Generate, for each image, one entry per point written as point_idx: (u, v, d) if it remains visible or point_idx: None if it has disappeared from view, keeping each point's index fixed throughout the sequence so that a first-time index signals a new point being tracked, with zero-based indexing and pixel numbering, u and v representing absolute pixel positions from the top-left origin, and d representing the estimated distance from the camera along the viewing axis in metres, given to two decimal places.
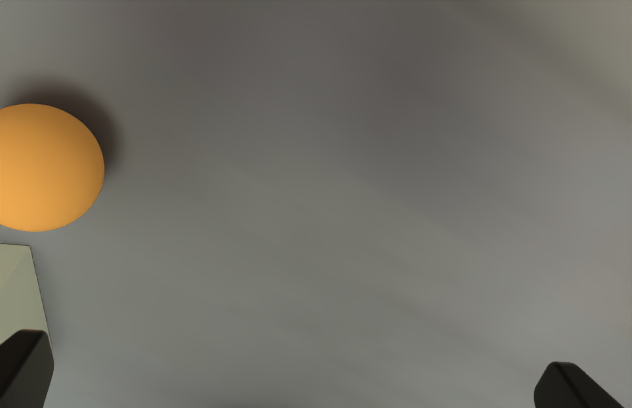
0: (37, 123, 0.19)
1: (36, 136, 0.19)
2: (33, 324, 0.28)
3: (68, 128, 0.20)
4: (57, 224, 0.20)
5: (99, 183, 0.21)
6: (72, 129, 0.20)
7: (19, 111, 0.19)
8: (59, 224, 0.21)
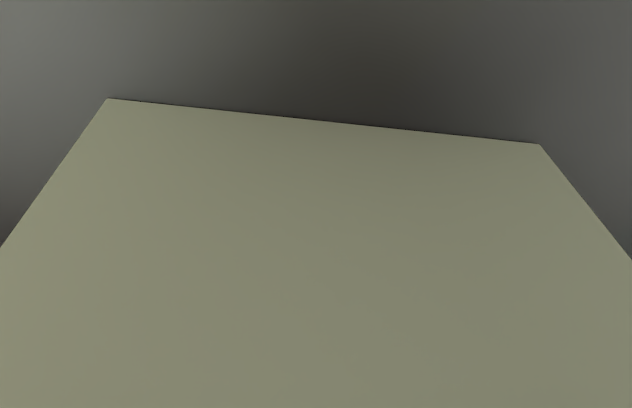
0: None
1: None
2: (367, 162, 0.08)
3: None
4: None
5: None
6: None
7: None
8: None
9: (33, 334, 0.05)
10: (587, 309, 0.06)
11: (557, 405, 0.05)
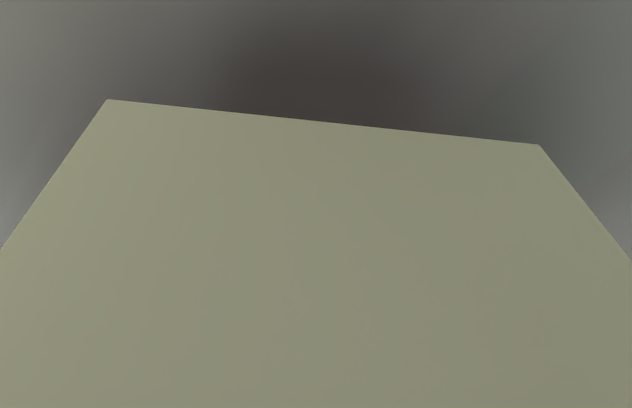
0: None
1: None
2: (366, 162, 0.08)
3: None
4: None
5: None
6: None
7: None
8: None
9: (33, 335, 0.05)
10: (586, 310, 0.06)
11: (556, 406, 0.05)
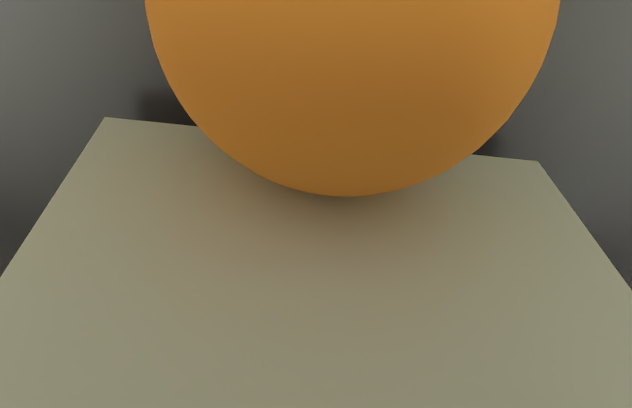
0: None
1: None
2: None
3: None
4: None
5: None
6: None
7: None
8: None
9: (30, 374, 0.05)
10: (583, 340, 0.06)
11: None
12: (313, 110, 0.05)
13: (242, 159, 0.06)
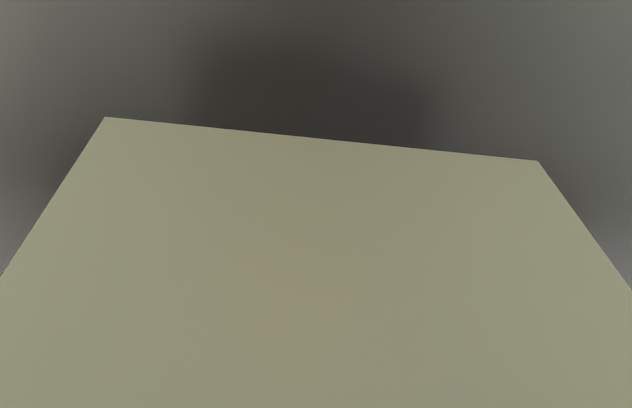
0: None
1: None
2: (365, 183, 0.08)
3: None
4: None
5: None
6: None
7: None
8: None
9: (31, 373, 0.05)
10: (583, 339, 0.06)
11: None
12: None
13: None
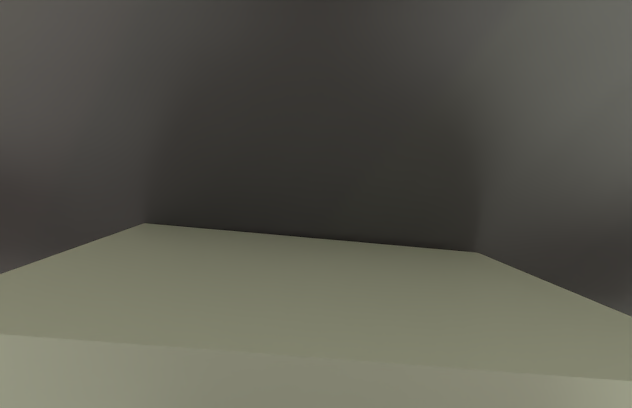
0: None
1: None
2: (340, 248, 0.11)
3: None
4: None
5: None
6: None
7: None
8: None
9: (100, 265, 0.07)
10: (506, 288, 0.08)
11: (476, 302, 0.07)
12: None
13: None
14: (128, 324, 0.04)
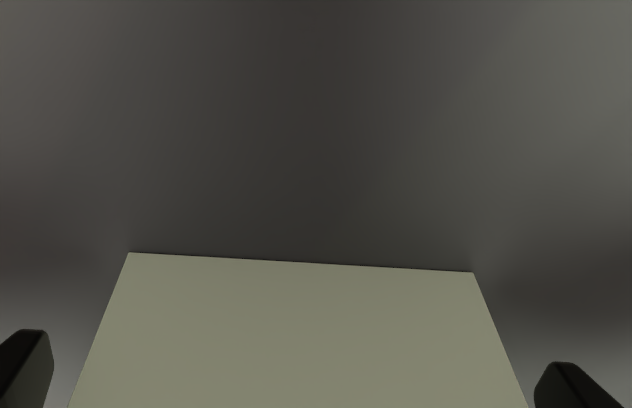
0: None
1: None
2: (330, 306, 0.11)
3: None
4: None
5: None
6: None
7: None
8: None
9: None
10: None
11: None
12: None
13: None
14: None
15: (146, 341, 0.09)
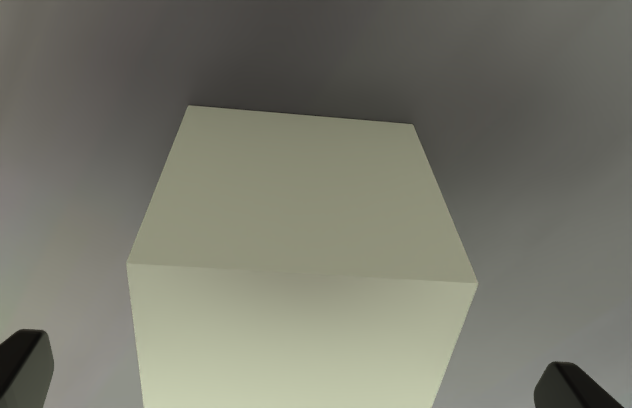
0: None
1: None
2: (317, 133, 0.17)
3: None
4: None
5: None
6: None
7: None
8: None
9: (186, 190, 0.13)
10: (401, 188, 0.14)
11: (374, 213, 0.13)
12: None
13: None
14: (217, 254, 0.11)
15: (205, 141, 0.15)
